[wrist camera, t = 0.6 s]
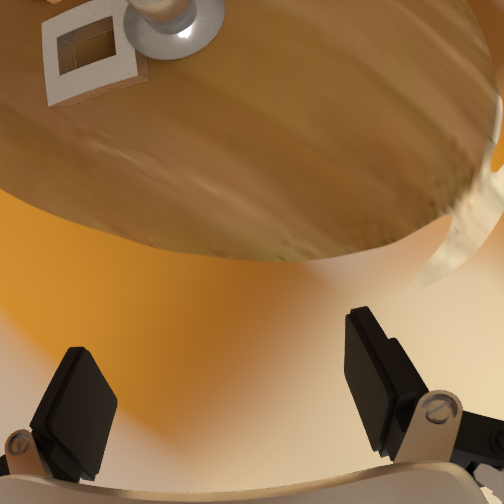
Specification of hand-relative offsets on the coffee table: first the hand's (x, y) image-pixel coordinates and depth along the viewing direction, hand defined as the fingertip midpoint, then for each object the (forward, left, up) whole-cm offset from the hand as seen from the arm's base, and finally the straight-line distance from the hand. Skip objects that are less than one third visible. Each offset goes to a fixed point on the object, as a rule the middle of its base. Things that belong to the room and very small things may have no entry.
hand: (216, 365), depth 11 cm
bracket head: (-20, -8, -29) cm, 36 cm away
